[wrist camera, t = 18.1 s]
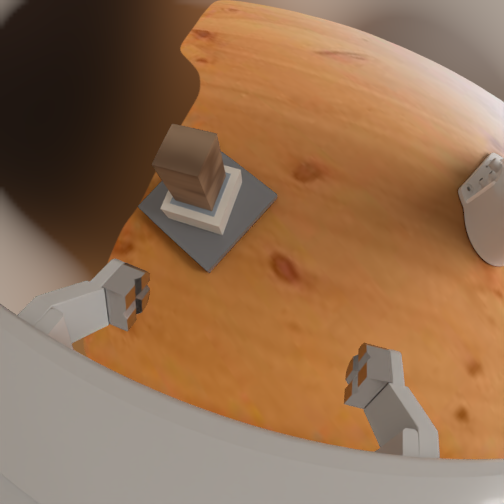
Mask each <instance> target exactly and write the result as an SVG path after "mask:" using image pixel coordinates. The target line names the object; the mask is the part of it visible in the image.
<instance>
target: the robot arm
mask: <svg viewBox="0 0 504 504" xmlns="http://www.w3.org/2000/svg"><path fill="white" fill-rule="evenodd" d="M467 189H468V190H469V191H468V190H467ZM458 194H459V197H460V200H461V203H462V205H463V208H464V217H465V225H466V230H467V233H468V236H469V239H470V241H471V243H472V245H473V247H474V249H475V250H476V252H477V253H478V254H479V256H480V257H481V258H482V259H483V260H485V261H486V262H487V263H489V264H491V265H493V266H504V158H502V157H501V156H499V155H498V154H495V153H491V154H489V155H488V156H487V157H486V159H485V160H484V161H483V162H482V163H481V164H480V166H479V167H478V168H477V169H476V170H475V171H474V172H473V173H472V175H471V176H470V177H469V178H468V179H467V180H466V181H465V182H464V183H463V185H462V186H461V187H460V188H459V190H458ZM149 281H150V273H149V272H147V271H145V270H142V269H140V268H137V267H135V266H133V265H130V264H128V263H125V262H122V261H120V260H118V259H112V260H111V261H110V262H109V263H108V264H107V265H106V266H105V267H104V268H103V269H102V270H101V271H100V272H99V273H98V274H97V275H96V276H95V277H94V278H93V279H92V280H91V281H90V282H89V281H84V282H81V283H78V284H74V285H71V286H68V287H65V288H61V289H58V290H55V291H51V292H48V293H45V294H42V295H39V296H36V297H35V298H34V299H33V300H32V301H31V302H30V303H29V304H28V305H27V306H26V307H25V308H24V309H23V310H22V311H21V312H20V313H19V314H18V315H16V314H14V313H13V312H11V311H10V310H9V309H7V308H6V307H4V306H3V305H1V304H0V504H504V459H441V458H440V456H439V441H438V431H437V430H436V428H435V427H434V425H433V424H432V422H431V420H430V419H429V417H428V416H427V414H426V413H425V411H424V410H423V409H422V407H421V406H420V404H419V403H418V401H417V400H416V398H415V397H414V395H413V394H412V392H411V391H410V389H409V388H408V387H406V386H405V384H404V373H403V364H402V356H401V353H400V352H399V351H395V350H391V349H386V348H382V347H379V346H375V345H371V344H367V343H363V344H362V345H361V346H360V348H359V352H358V355H356V356H354V357H353V358H352V359H351V361H350V363H349V365H348V368H347V372H346V381H347V383H348V386H347V387H346V389H345V395H344V404H346V405H350V406H354V407H358V408H362V409H364V412H365V414H366V416H367V419H368V421H369V423H370V425H371V428H372V430H373V432H374V434H375V437H376V439H377V441H378V443H379V446H380V448H379V449H378V450H376V451H375V452H370V451H364V450H357V449H351V448H346V447H340V446H335V445H330V444H325V443H320V442H315V441H311V440H306V439H302V438H298V437H294V436H290V435H286V434H282V433H278V432H274V431H271V430H267V429H263V428H260V427H256V426H253V425H250V424H246V423H243V422H240V421H237V420H234V419H231V418H228V417H224V416H222V415H219V414H216V413H213V412H210V411H207V410H204V409H202V408H199V407H196V406H193V405H191V404H188V403H186V402H183V401H180V400H178V399H175V398H173V397H170V396H168V395H166V394H163V393H161V392H158V391H156V390H154V389H151V388H149V387H147V386H145V385H142V384H140V383H138V382H136V381H134V380H131V379H129V378H127V377H125V376H123V375H121V374H119V373H117V372H115V371H113V370H111V369H109V368H107V367H105V366H103V365H101V364H99V363H97V362H95V361H93V360H91V359H89V358H87V357H85V356H83V355H82V354H80V353H78V352H76V351H74V349H73V346H72V343H73V342H75V341H77V340H79V339H81V338H83V337H85V336H87V335H89V334H91V333H93V332H95V331H97V330H99V329H101V328H103V327H105V326H107V325H109V324H111V325H114V326H116V327H118V328H121V329H123V330H125V331H129V330H130V328H131V327H132V325H133V324H134V323H135V321H136V314H138V313H141V312H143V310H144V309H145V307H146V305H147V303H148V300H149V295H150V289H149V287H148V286H147V284H148V282H149Z"/></svg>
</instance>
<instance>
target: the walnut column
mask: <svg viewBox="0 0 504 504" xmlns="http://www.w3.org/2000/svg"><path fill="white" fill-rule="evenodd" d="M152 166H153V168H154V169H155V170H156V172H157V174H158V175H159V177H160V178H161V180H162V181H163V183H164V184H165V186H166V187H167V189H168V190H169V192H170V193H171V195H172V196H173V198H174V199H175V200H176V201H179V202H183V203H186V204H190V205H193V206H196V207H199V208H203V209H206V210H209V211H212V210H213V208H214V205H215V202H216V200H217V197H218V195H219V192H220V190H221V187H222V184H223V182H224V179H225V177H226V174H225V169H224V164H223V160H222V155H221V151H220V146H219V141H218V137H217V134H216V133H212V132H208V131H203V130H199V129H194V128H190V127H185V126H180V125H175V124H172V125H171V127H170V129H169V131H168V133H167V135H166V137H165V138H164V140H163V143H162V145H161V146H160V149H159V151H158V153H157V155H156V157H155V159H154V161H153V163H152Z"/></svg>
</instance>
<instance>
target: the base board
mask: <svg viewBox="0 0 504 504" xmlns="http://www.w3.org/2000/svg"><path fill="white" fill-rule="evenodd" d="M221 155H222V160H223V164H224V169H225V174H226V177H225V179H224V182H223V184H222V187H221V190H220V192H219V195H218V197H217V200H216V202H215V205H214V208H213V210H212V211H209V210H206V209H203V208H199V207H196V206H193V205H190V204H186V203H183V202H179V201H176V200H175V199H174V198H173V196H172V195H171V193H170V192H169V190H168V189H167V187H166V186H165V184H164V183H163V181H161V182H160V183H159V184H158V186H157V187H156V188H155V189H154V190H153V191H152V192H151V193H150V194H149V195H148V196H147V197H146V198H145V199H144V200H143V201H142V202H141V204H140V205H139V206H138V207H139V208H140V209H141V210H142V211H143V212H144V213H145V214H146V215H147V216H148V217H149V218H150V219H151V220H152V221H153V222H154V223H155V224H156V225H158V226H159V227H160V228H161V229H162V230H163V231H164V232H165V233H166V234H167V235H168V236H169V237H170V238H171V239H172V240H174V241H175V242H176V243H177V244H178V245H179V246H180V247H181V248H182V249H183V250H184V251H185V252H187V253H188V254H189V255H190V256H191V257H192V258H193V259H194V260H195V261H196V262H197V263H199V264H200V265H201V266H202V267H203V268H204V269H205V270H206V271H207V272H208V273H210V272H211V271H212V269H213V268H214V267H215V266H216V265H217V264H218V263H219V262H220V261H221V259H222V258H223V257H224V256H225V255H226V254H227V253H228V252H229V251H230V249H231V248H232V247H233V246H234V245H235V244H236V243H237V242H238V241H239V240H240V238H241V237H242V236H243V235H244V234H245V233H246V232H247V231H248V230H249V229H250V227H251V226H252V225H253V224H254V223H255V222H256V221H257V220H258V219H259V218H260V216H261V215H262V214H263V213H264V212H265V211H266V210H267V209H268V208H269V207H270V206H271V204H272V203H273V202H274V201H275V200H276V199H277V194H276V193H275V192H273V191H272V190H271V189H270V188H268V187H267V186H266V185H264V184H263V183H262V182H261V181H259V180H258V179H257V178H255V177H254V176H253V175H252V174H250V173H249V172H248V171H246V170H245V169H244V168H243V167H241V166H240V165H239V164H237V163H236V162H235V161H233V160H232V159H231V158H229V157H228V156H227V155H225V154H224V153H223V152H221Z"/></svg>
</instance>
